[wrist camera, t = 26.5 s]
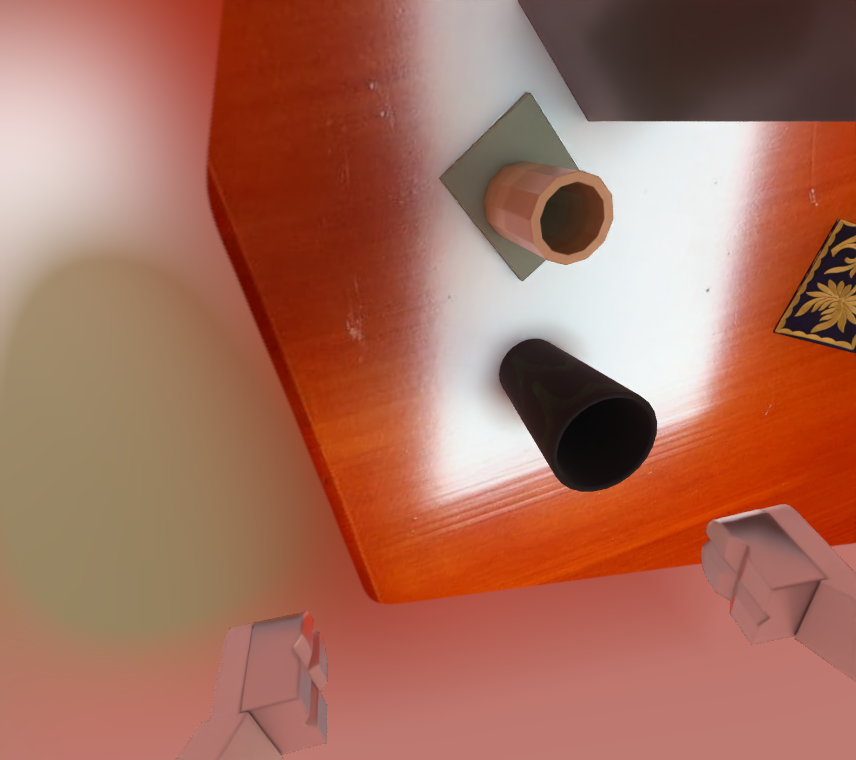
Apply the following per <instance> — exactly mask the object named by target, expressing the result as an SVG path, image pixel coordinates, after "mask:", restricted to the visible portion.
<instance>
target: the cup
mask: <svg viewBox="0 0 856 760" xmlns="http://www.w3.org/2000/svg"><path fill="white" fill-rule="evenodd" d="M499 377H500V382H501V385H502V387H503V389H504V391H505V392H506V394H507V396H508V397H509V399H510V401H511V402H512V404H513V406H514V407H515V409H516V411H517V412H518V414H519V416H520V417H521V419H522V421H523V422H524V424H525V426H526V427H527V429H528V431H529V433H530V434H531V436H532V438H533V439H534V441H535V443H536V444H537V446H538V448H539V449H540V451H541V453H542V454H543V456H544V458H545V459H546V461H547V463H548V464H549V466H550V468H551V469H552V471H553V473H554V474H555V476H556V477H557V478H558V480H559V481H560V482H561V483H562V484H563V485H565V486H567V487H569V488H570V489H573V490H577V491H581V492H593V491H598V490H603V489H607V488H609V487H611V486H614V485H616V484H618V483H620V482H621V481H623V480H625V479H626V478H628V477H629V476H630V475H631V474H632V473H634V472H635V471H636V470H637V469H638V468H639V467H640V466H641V464H642V463H643V462H644V461H645V459H646V458H647V456H648V455H649V453H650V451H651V449H652V447H653V444H654V441H655V437H656V434H657V420H656V416H655V412H654V410H653V408H652V407H651V405H650V404H649V402H647V401H646V400H645V399H644V398H642V397H641V396H639V395H638V394H636V393H634V392H633V391H631V390H629V389H628V388H626V387H624V386H622V385H621V384H619V383H617V382H616V381H614V380H612V379H611V378H609V377H607V376H605V375H604V374H602V373H600V372H599V371H597V370H595V369H593V368H592V367H590V366H588V365H587V364H585V363H583V362H582V361H580V360H578V359H576V358H575V357H573V356H571V355H570V354H568V353H566V352H565V351H563V350H561V349H559V348H558V347H556V346H554V345H553V344H551V343H549V342H547V341H544V340H541V339H531V340H526V341H524V342H521V343H519V344H518V345H516V346H515V347H513V348H512V349H511V350H510V351H509V352H508V353H507V354H506V356H505V358H504V359H503V361H502V364H501V366H500V372H499Z"/></svg>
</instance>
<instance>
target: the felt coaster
mask: <svg viewBox="0 0 856 760" xmlns="http://www.w3.org/2000/svg"><path fill="white" fill-rule="evenodd" d="M521 161H526V162H532V163H538V164H544V165H550V166H556V167H563V168H569V169H575V170H579V169H578V168H577V166H576V164H575V163H574V161H573V160H572V158H571V156H570V155H569V153H568V152H567V150H566V149H565V147H564V145H563V144H562V142H561V141H560V139H559V137H558V136H557V134H556V133H555V131H554V129H553V128H552V126H551V125H550V123H549V122H548V120H547V118H546V117H545V115H544V114H543V112H542V110H541V109H540V107H539V106H538V104H537V102H536V101H535V99H534V98H533V96H532V95H531V93H526V94H525V95H524V96H523V97H522V98H521V99H520V100H519V101H518V102H517V103H516V104H515V105H514V106H513V107H512V108H511V109H510V110H509V111H508V112H507V113H506V114H504V115H503V116H502V117H501V118H500V119H499V120H498V121H497V122H496V123H495V124H494V125H493V126H492V127H491V128H490V129H489V130H488V131H487V132H486V133H485V134H484V135H483V136H482V137H481V138H480V139H479V140H478V141H477V142H476V143H475V144H474V145H473V146H472V147H471V148H470V149H469V150H468V151H467V152H466V153H465V154H464V155H463V156H462V157H461V158H460V159H459V160H458V161H457V162H456V163H455V164H454V165H452V166H451V167H450V168H449V169H448V170H447V171H446V172H445V173H444V174H443V175H442V176H441V177H440V180H441V181H442V183H443V184H444V185H445V186H446V188H447V189H448V190H449V191H450V193H451V194H452V195H453V196H454V198H455V199H456V200H457V201H458V203H459V204H460V205H461V206H462V208H463V209H464V210H465V211H466V213H467V214H468V215H469V216H470V218H471V219H472V220H473V222H474V223H475V224H476V225H477V227H478V228H479V229H480V230H481V232H482V233H483V234H484V235H485V237H486V238H487V239H488V240H489V242H490V243H491V244H492V245H493V247H494V248H495V249H496V250H497V252H498V253H499V254H500V255H501V257H502V258H503V259H504V260H505V262H506V263H507V264H508V265H509V267H510V268H511V269H512V270H513V272H514V273H515V274H516V275H517V277H518V278H519V279H520V280H521V281H523V280H524V279H526V278H527V277H528V276H529V275H530V274H531V273H532V272H533V271H534V270H535V269H536V268H537V267H539V266H540V265H541V264H542V263H543V262H544V261H545V260H546V259H544V258H542V257H540V256H538V255H536V254H534V253H532V252H531V251H529V250H527V249H525V248H523V247H521V246H519V245H517V244H515V243H513V242H511V241H509V240H508V239H506V238H504V237H502V236H500V235H498V233H497V232H496V231H495V230H494V229H493V228H492V227H491V225H490V224H489V223H488V221H487V218H486V212H485V207H484V199H485V196H486V193H487V190H488V186H489V183H490V181H491V180H492V179H493V178H494V177H495V176H496V175H497V174H498V173H499V172H500V170H501V169H502V168H503V167H505V166H507V165H511V164H514V163H517V162H521Z"/></svg>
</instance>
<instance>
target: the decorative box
mask: <svg viewBox="0 0 856 760" xmlns="http://www.w3.org/2000/svg"><path fill="white" fill-rule="evenodd" d="M774 333H778V334H782V335H786V336H789V337H793V338H797V339H801V340H805V341H809V342H813V343H817V344H821V345H825V346H829V347H832V348H836V349H840V350H844V351H848V352H852V353H856V225H855V224H853V223H850V222H847V221H844V220H841V219H838V220H837V222H836V224H835V226H834V227H833V229H832V231H831V233H830V234H829V236H828V238H827V240H826V241H825V243H824V245H823V247H822V248H821V250H820V252H819V254H818V255H817V257H816V259H815V261H814V262H813V264H812V266H811V268H810V269H809V271H808V273H807V275H806V276H805V278H804V280H803V282H802V283H801V285H800V287H799V289H798V290H797V292H796V294H795V296H794V297H793V299H792V301H791V303H790V305H789V306H788V308H787V310H786V312H785V313H784V315H783V317H782V319H781V320H780V322H779V324H778V326H777V327H776V329H775V331H774Z"/></svg>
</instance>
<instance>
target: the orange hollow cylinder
mask: <svg viewBox="0 0 856 760" xmlns="http://www.w3.org/2000/svg"><path fill="white" fill-rule="evenodd" d="M484 207H485V212H486V218H487V221H488V223H489V224H490V225H491V227H492V228H493V229H494V230H495V231H496V232H497V233H498V235H500V236H502V237H504V238H506V239H508V240H509V241H511V242H513V243H515V244H517V245H519V246H521V247H523V248H525V249H527V250H529V251H531V252H532V253H534V254H536V255H538V256H540V257H542V258H544V259H546V260H548V261H552V262H556V263H560V264H564V265H568V264H571V263H574V262H577V261H580V260H584V259H586V258H588V257H589V256H590V255H591V254H592V253H593V252H594V251H595V250H596V249H597V248H598V247H599V246H600V245H601V244H602V243H603V242H604V241H605V238H606V236H607V233H608V231H609V228H610V226H611V223H612V221H613V205H612V195H611V193H610V192H609V190H608V189H607V187H606V186H605V184H604V183H603V181H602V180H601V179H600V178H599V177H598V176H595V175H592V174H589V173H586V172H583V171H580V170H575V169H569V168H563V167H556V166H550V165H544V164H538V163H532V162H526V161H521V162H517V163H514V164H511V165H507V166H505V167H503V168H502V169H501V170H500V172H499V173H498V174H497V175H496V176H495V177H494V178H493V179H492V180H491V181H490V183H489V186H488V190H487V193H486V196H485V199H484Z"/></svg>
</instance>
